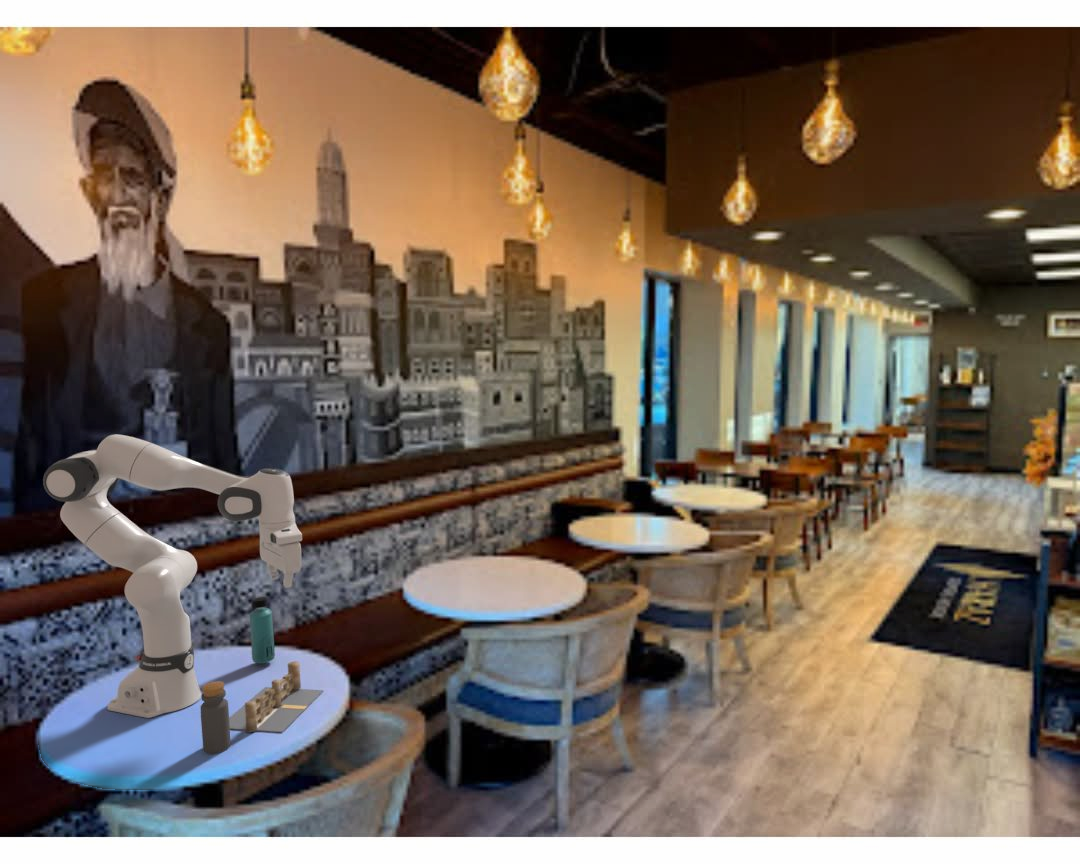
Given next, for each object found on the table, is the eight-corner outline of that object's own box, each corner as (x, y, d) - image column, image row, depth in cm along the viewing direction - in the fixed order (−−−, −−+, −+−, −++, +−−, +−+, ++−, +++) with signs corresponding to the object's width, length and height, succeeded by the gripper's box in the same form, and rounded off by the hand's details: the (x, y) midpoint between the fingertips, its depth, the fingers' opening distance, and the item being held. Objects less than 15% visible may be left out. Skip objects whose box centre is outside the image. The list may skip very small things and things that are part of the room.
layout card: (217, 728, 175) (217, 727, 175) (265, 688, 196) (265, 686, 196) (282, 732, 172) (282, 731, 172) (323, 691, 194) (323, 689, 194)
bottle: (229, 751, 164) (225, 689, 163) (201, 756, 163) (197, 693, 161) (232, 739, 170) (228, 678, 168) (205, 743, 168) (201, 682, 167)
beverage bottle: (267, 669, 209) (263, 602, 207) (247, 667, 210) (243, 601, 208) (280, 660, 215) (276, 595, 213) (260, 658, 216) (256, 594, 214)
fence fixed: (244, 731, 172) (242, 705, 172) (274, 704, 186) (273, 679, 186) (253, 732, 172) (252, 705, 171) (283, 704, 186) (282, 679, 185)
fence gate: (274, 701, 187) (273, 676, 186) (292, 685, 196) (291, 661, 196) (285, 701, 186) (283, 676, 186) (302, 685, 196) (301, 661, 195)
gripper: (251, 526, 191) (255, 577, 192) (279, 539, 175) (283, 594, 177) (275, 522, 195) (278, 572, 196) (304, 535, 179) (308, 588, 181)
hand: (281, 582), depth 186 cm, fingers open, 8 cm apart
